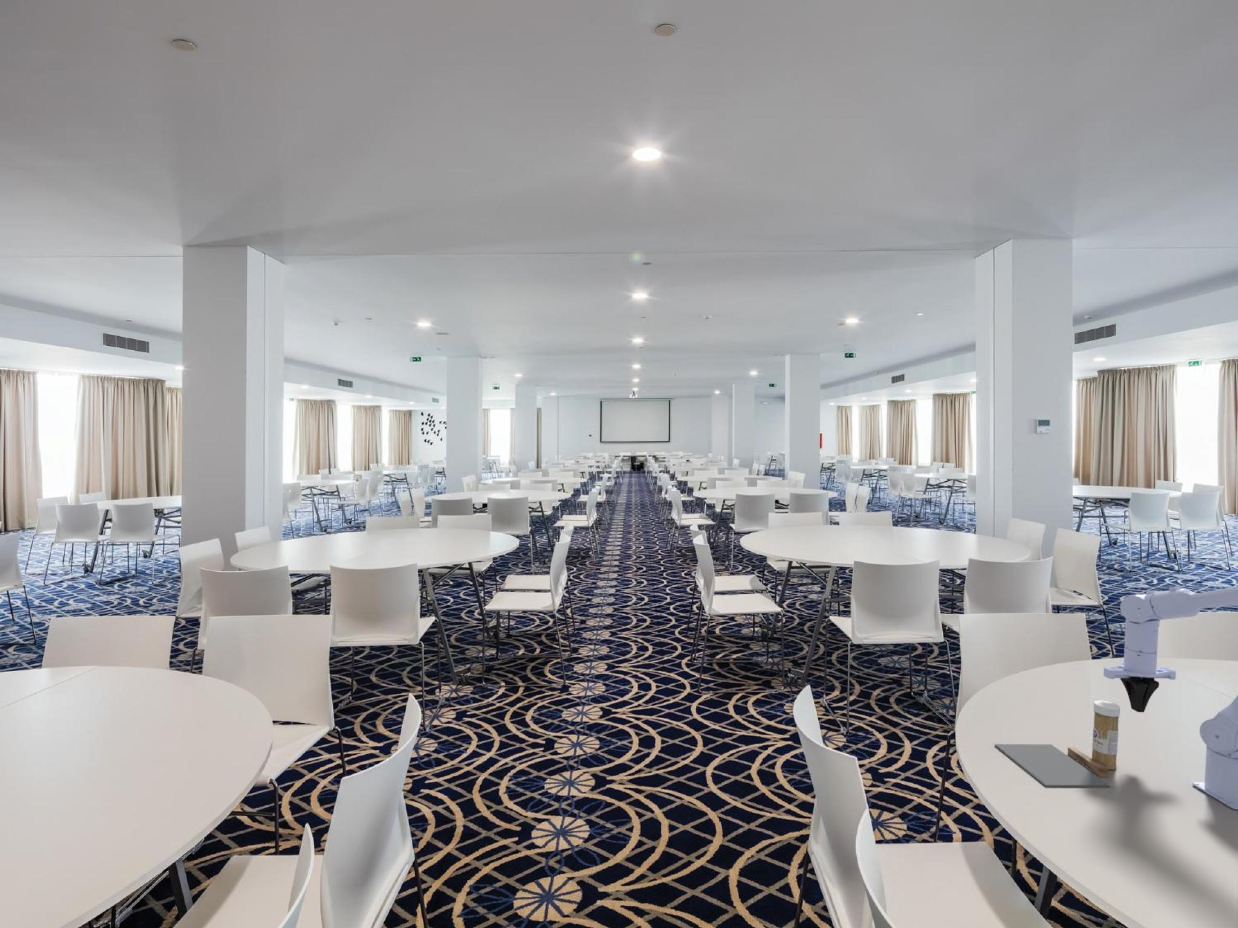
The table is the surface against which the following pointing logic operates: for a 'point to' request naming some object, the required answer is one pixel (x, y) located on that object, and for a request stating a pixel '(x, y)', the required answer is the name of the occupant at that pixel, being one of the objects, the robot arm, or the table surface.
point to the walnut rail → (1088, 762)
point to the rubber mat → (1050, 765)
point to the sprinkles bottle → (1105, 733)
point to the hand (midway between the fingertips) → (1137, 710)
